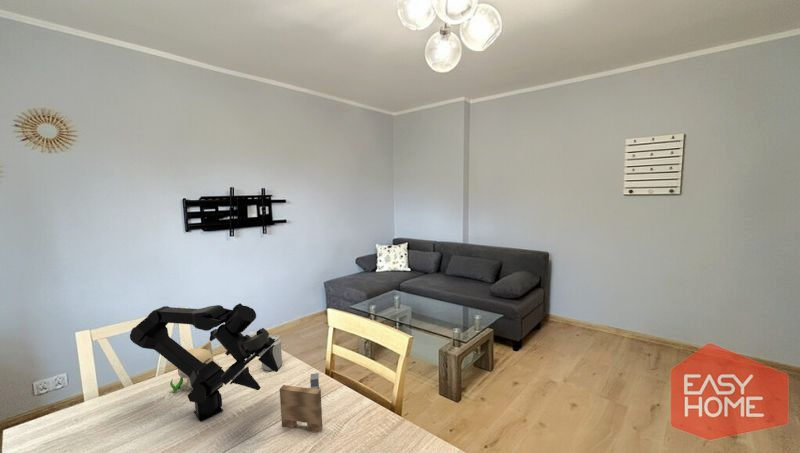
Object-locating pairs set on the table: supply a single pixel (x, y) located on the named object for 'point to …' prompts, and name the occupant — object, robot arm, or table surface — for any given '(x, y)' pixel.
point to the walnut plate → (301, 407)
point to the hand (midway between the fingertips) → (268, 379)
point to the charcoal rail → (314, 381)
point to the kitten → (201, 354)
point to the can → (275, 352)
